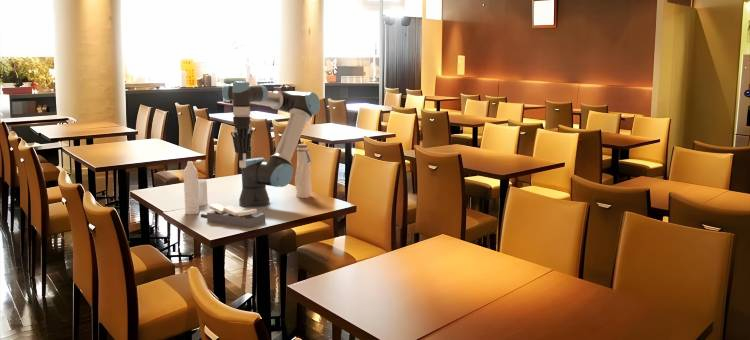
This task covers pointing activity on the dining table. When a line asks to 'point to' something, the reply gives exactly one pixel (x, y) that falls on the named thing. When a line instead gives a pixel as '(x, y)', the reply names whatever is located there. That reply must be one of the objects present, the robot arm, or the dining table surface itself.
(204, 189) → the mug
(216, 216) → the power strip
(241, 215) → the rocker
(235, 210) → the rocker
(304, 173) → the water bottle
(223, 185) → the dining table surface
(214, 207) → the rocker
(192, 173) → the water bottle
